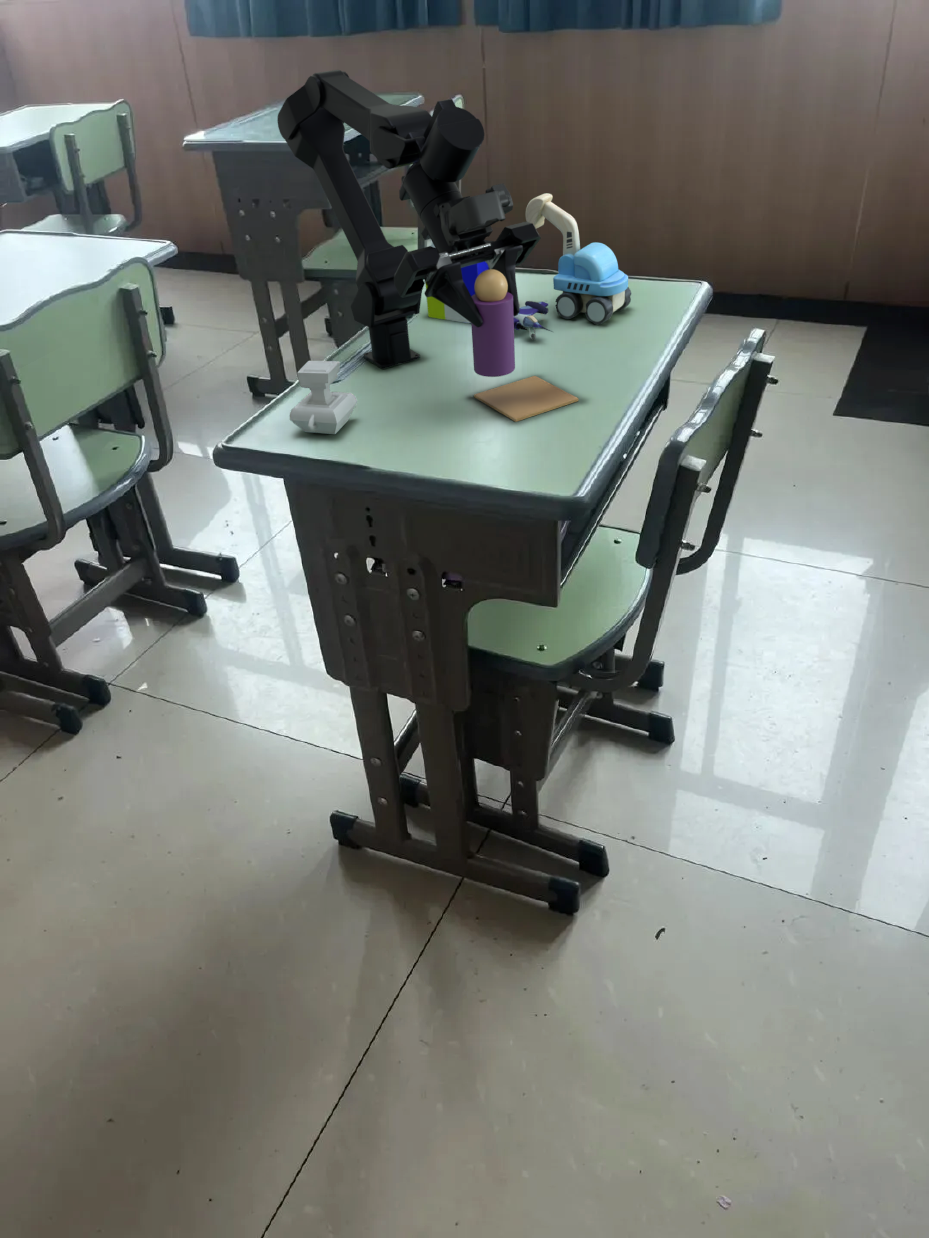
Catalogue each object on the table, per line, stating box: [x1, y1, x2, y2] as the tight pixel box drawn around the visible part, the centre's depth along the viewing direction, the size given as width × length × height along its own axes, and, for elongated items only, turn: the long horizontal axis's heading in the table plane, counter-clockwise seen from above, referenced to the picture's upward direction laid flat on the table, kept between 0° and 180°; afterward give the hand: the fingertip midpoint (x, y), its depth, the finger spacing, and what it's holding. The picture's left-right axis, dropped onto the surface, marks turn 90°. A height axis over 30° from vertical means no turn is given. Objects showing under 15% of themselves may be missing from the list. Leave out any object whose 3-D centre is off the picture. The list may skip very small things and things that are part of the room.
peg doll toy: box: [470, 269, 516, 378], centre depth 112 cm, size 5×5×12 cm
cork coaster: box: [473, 375, 579, 423], centre depth 122 cm, size 10×10×1 cm
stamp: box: [289, 360, 359, 435], centre depth 116 cm, size 9×7×8 cm
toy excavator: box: [525, 193, 632, 325], centre depth 143 cm, size 9×17×17 cm, turn 54°
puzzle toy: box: [424, 239, 495, 324], centre depth 148 cm, size 10×10×10 cm
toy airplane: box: [514, 300, 553, 342], centre depth 141 cm, size 13×14×4 cm
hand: (498, 320), depth 111 cm, fingers closed on peg doll toy, 5 cm apart
